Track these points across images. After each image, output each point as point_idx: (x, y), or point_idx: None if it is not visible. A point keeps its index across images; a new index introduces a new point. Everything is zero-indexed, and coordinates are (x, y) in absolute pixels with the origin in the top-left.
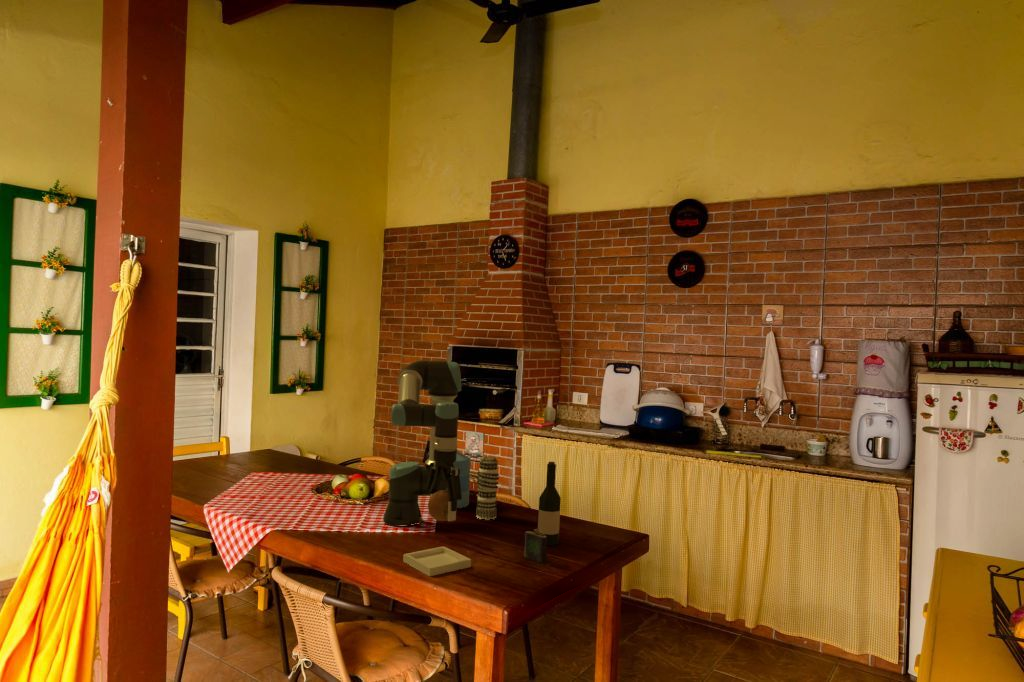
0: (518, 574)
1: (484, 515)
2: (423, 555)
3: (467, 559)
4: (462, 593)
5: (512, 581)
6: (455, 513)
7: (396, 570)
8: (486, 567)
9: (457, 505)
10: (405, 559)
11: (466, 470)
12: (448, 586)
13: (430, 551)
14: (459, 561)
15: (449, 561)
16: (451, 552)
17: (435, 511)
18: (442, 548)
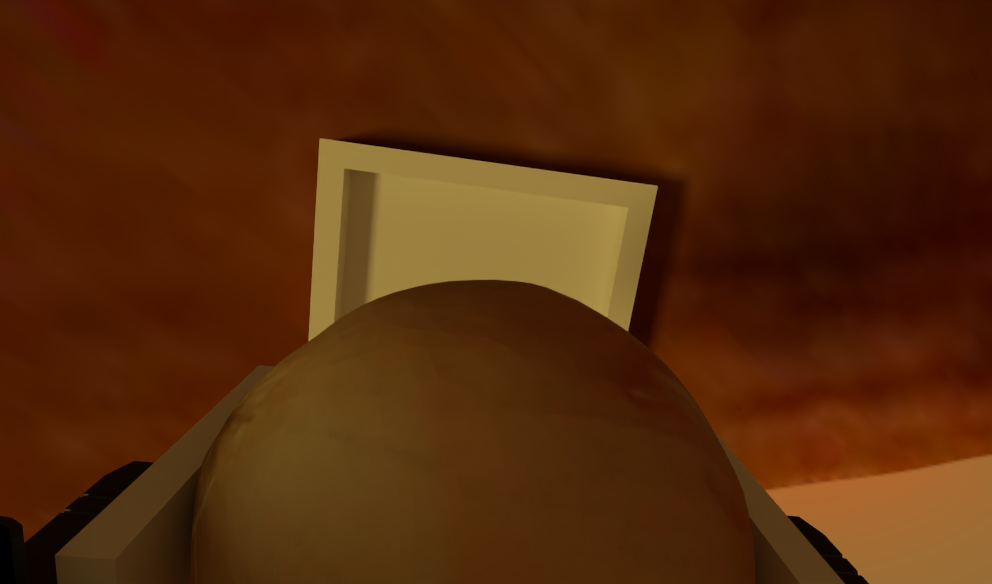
0: (945, 40)
1: None
2: (340, 317)
3: (642, 207)
4: (859, 476)
5: (975, 165)
6: (731, 459)
7: None
8: (716, 108)
9: (671, 372)
10: None
11: None
12: (751, 469)
13: (339, 270)
14: (631, 274)
15: (524, 259)
16: (455, 183)
17: None
18: (345, 171)
